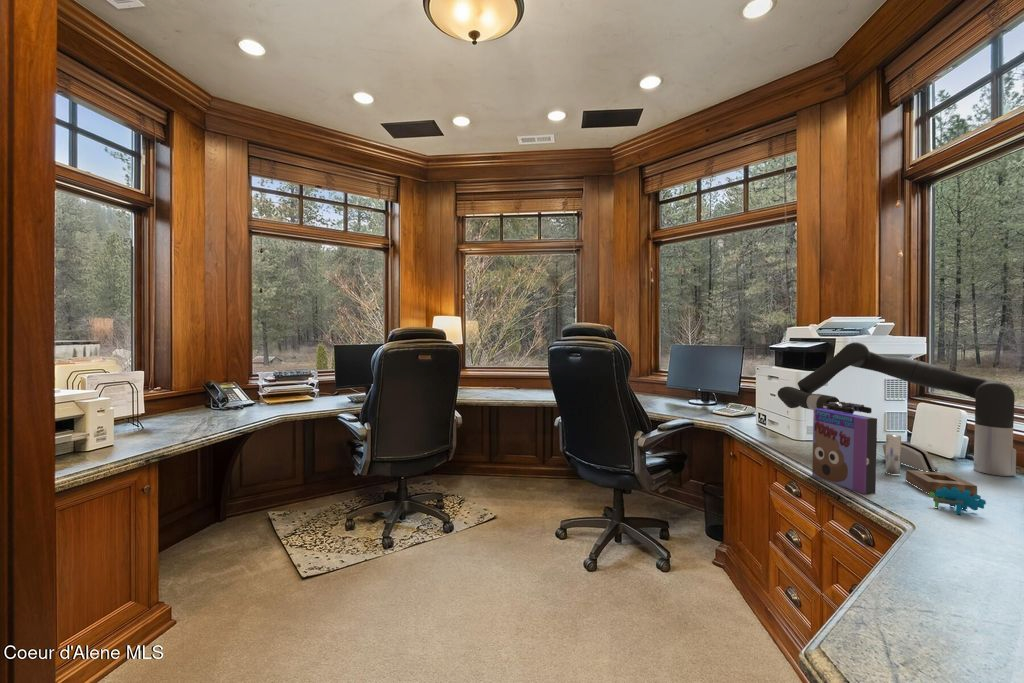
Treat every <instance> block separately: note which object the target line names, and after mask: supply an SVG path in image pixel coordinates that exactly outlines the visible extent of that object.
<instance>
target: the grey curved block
mask: <svg viewBox="0 0 1024 683" xmlns="http://www.w3.org/2000/svg"><path fill="white" fill-rule="evenodd" d="M882 450H883V455H884V459H885V458H886V442H885V443H883V444H882ZM901 463H903V464H906V465H909V466H912V467H914V468H917V469H920V470H923V471H928V472H935V471H939V468H938V467H936V466H934V463H933V461H932V459H931V456H930V454H929V453H928V451H926V449H924V448H922V447H920V446H917V445H916V444H912V443H910V442H905V441H901ZM931 470H932V471H931ZM934 470H935V471H934Z"/></svg>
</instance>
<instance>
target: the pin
mask: <svg viewBox="0 0 1024 683" xmlns="http://www.w3.org/2000/svg"><path fill="white" fill-rule="evenodd" d="M885 436H886V437H885V443H886V459H885V471H884V472H887V473H890V474H900V475H901V442H902V436H901V435H898V434H894V433H892V434H891V433H887V434H886V435H885Z"/></svg>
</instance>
